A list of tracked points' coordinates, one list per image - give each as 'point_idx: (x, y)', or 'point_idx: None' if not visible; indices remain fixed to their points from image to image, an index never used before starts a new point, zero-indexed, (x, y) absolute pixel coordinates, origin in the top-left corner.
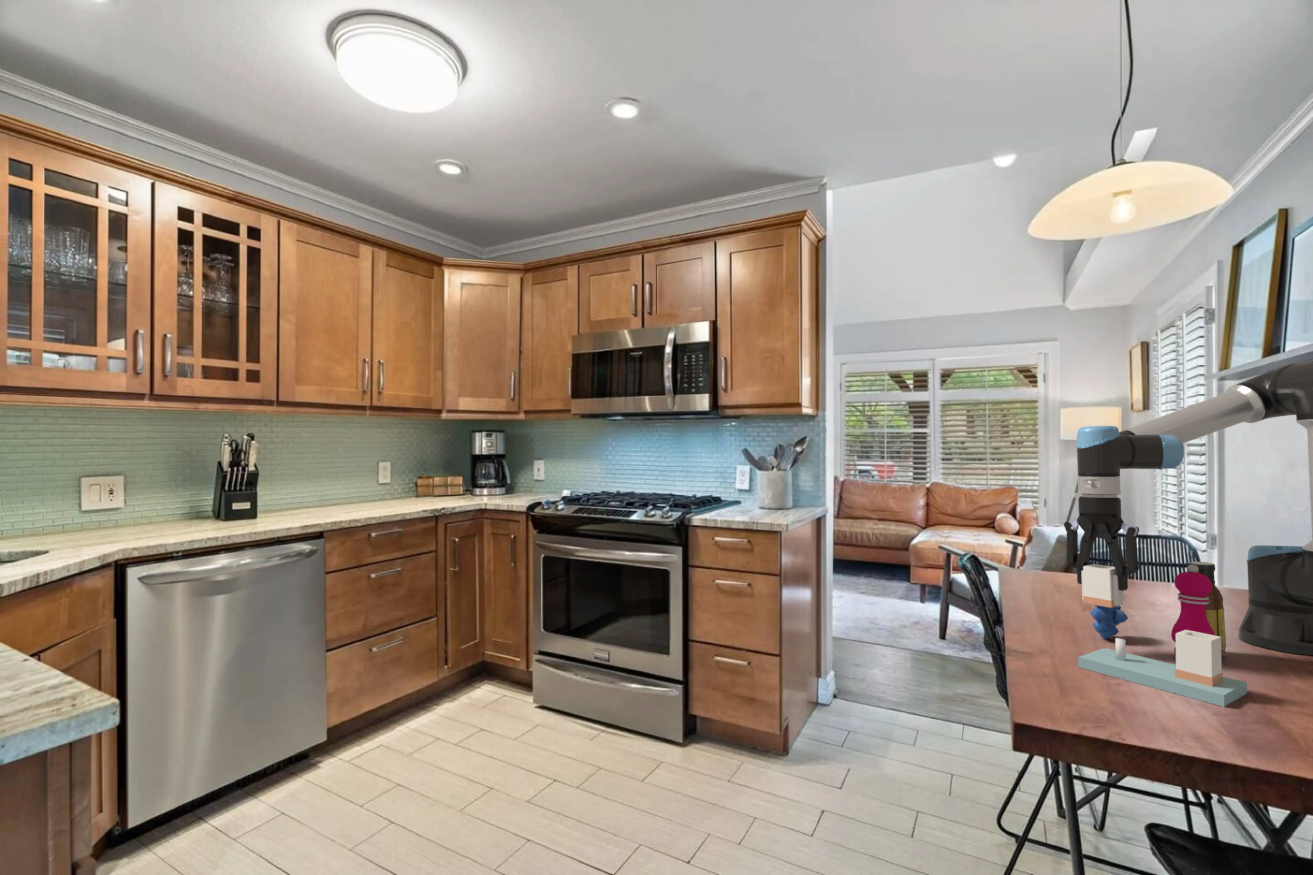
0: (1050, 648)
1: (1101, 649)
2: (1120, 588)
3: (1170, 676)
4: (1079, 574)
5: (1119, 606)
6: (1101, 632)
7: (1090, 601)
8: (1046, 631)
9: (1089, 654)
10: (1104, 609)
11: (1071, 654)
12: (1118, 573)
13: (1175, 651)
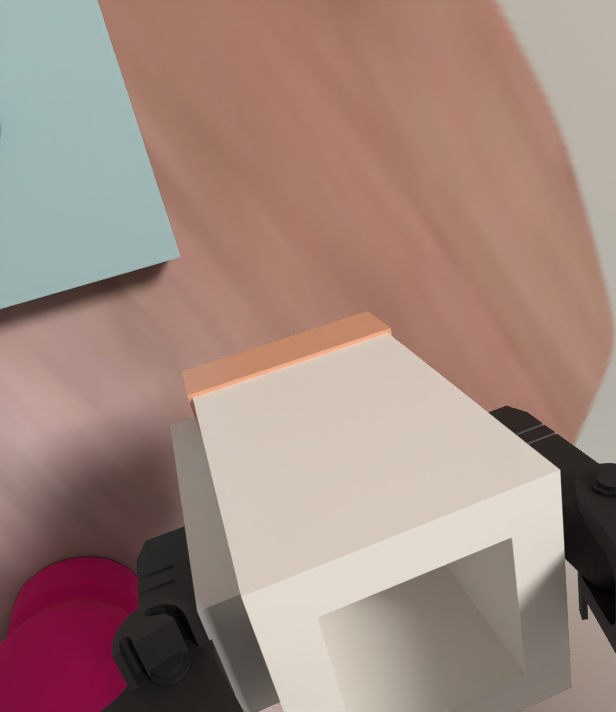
0: (358, 94)
1: (161, 208)
2: (175, 540)
3: None
4: (553, 452)
5: None
6: None
7: (328, 333)
8: (531, 340)
9: (90, 21)
10: None
11: (254, 109)
12: (153, 626)
13: (117, 576)
